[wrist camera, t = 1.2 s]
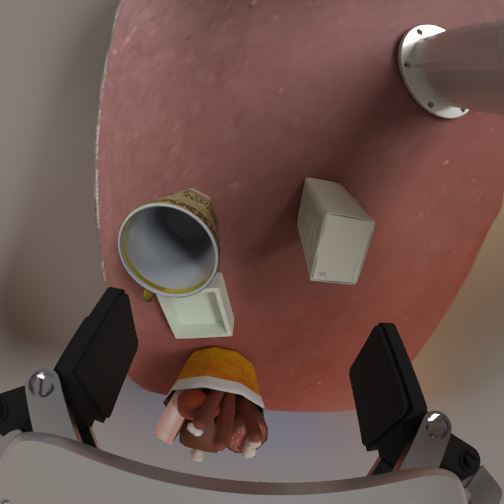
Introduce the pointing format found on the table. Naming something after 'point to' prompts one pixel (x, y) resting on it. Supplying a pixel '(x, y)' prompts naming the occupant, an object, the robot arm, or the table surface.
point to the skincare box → (333, 232)
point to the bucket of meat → (215, 405)
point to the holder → (200, 312)
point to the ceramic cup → (171, 244)
